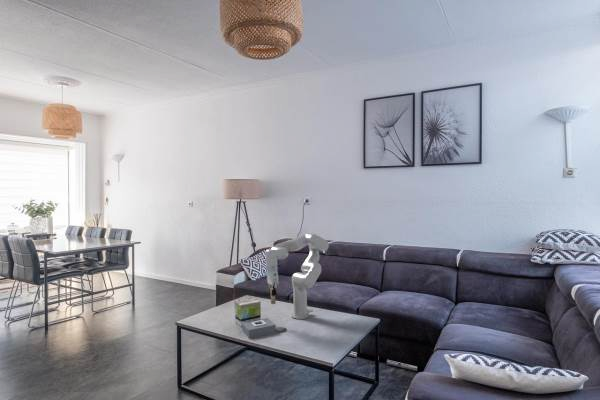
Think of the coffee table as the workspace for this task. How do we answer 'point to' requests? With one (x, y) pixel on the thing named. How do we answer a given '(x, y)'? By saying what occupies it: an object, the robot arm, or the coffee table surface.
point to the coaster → (280, 329)
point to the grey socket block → (258, 327)
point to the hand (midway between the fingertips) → (273, 294)
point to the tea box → (247, 311)
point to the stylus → (272, 296)
